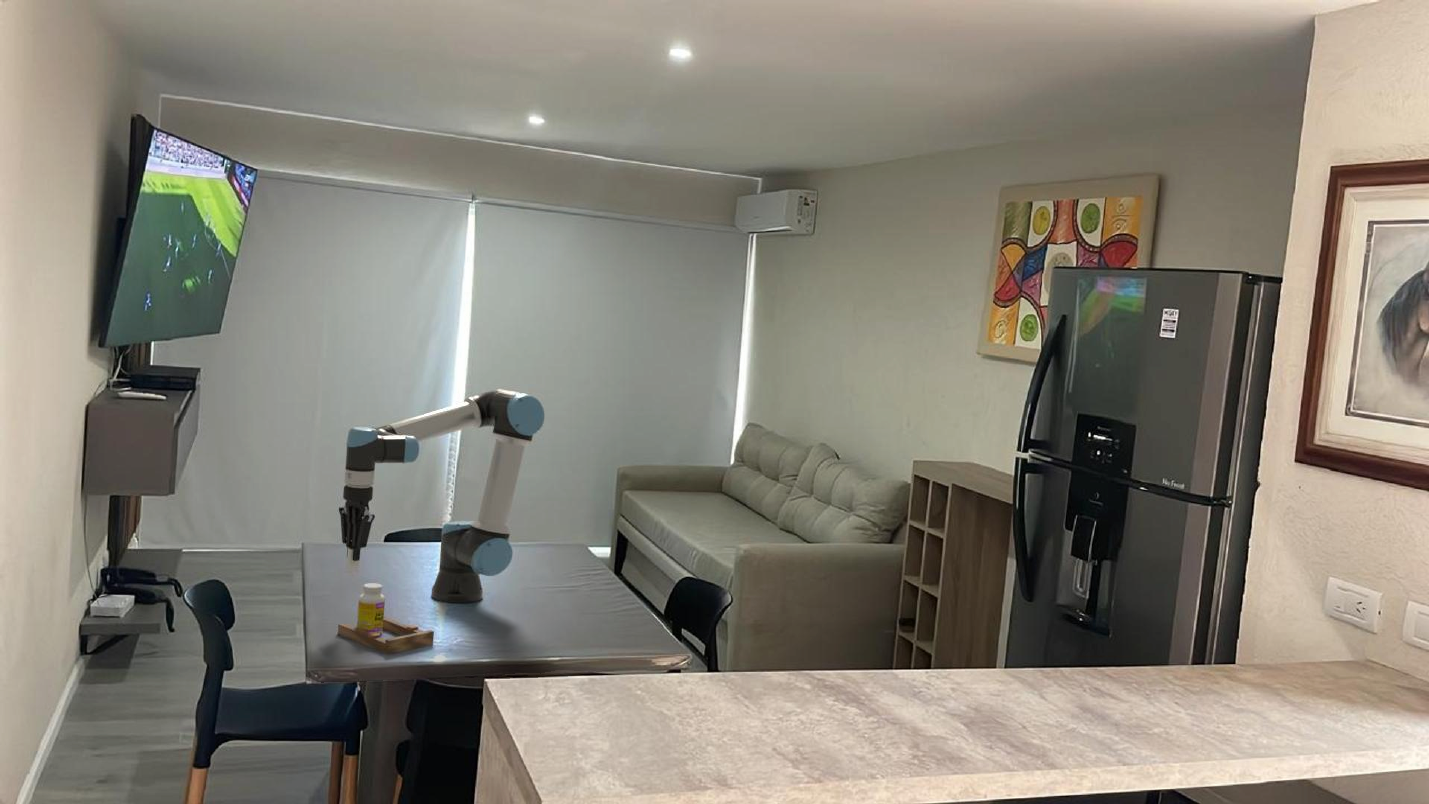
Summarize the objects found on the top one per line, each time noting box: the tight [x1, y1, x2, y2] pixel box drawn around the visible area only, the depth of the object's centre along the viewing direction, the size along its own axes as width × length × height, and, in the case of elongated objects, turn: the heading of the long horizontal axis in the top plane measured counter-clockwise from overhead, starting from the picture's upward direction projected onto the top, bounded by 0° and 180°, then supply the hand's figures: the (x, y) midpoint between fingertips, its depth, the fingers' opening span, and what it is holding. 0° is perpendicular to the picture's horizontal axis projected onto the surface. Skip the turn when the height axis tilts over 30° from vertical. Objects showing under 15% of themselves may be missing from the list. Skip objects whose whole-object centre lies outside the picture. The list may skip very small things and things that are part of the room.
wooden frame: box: [337, 615, 435, 655], centre depth 298 cm, size 14×22×4 cm, turn 53°
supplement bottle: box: [356, 582, 386, 635], centre depth 301 cm, size 7×7×13 cm
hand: (352, 571), depth 306 cm, fingers closed
